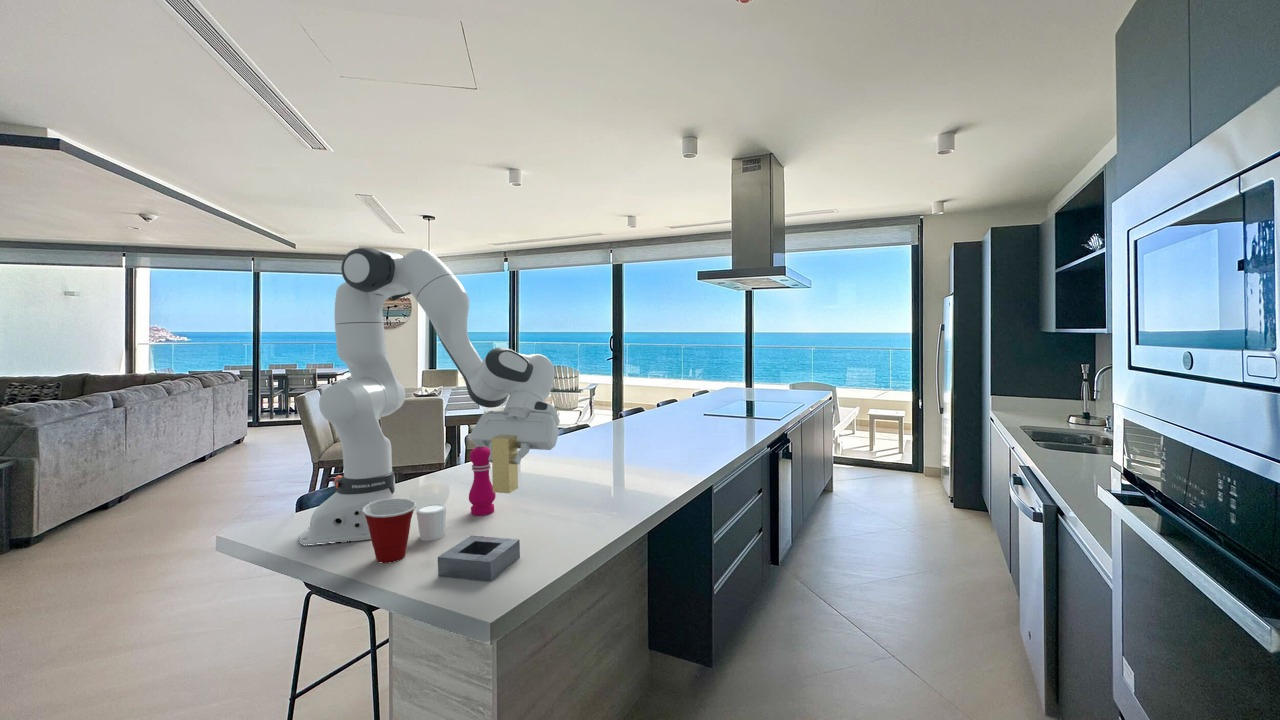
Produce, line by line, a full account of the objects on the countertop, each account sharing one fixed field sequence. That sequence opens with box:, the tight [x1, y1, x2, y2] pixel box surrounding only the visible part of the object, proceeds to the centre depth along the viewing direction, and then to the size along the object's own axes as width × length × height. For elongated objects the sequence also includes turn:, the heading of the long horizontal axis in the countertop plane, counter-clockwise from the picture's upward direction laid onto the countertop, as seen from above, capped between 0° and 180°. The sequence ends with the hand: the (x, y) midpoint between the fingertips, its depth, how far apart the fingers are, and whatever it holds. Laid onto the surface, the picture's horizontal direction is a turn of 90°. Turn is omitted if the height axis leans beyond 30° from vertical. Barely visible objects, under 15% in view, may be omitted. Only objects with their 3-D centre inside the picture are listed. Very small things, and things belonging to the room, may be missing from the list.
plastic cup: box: [362, 497, 417, 564], centre depth 115 cm, size 11×11×12 cm
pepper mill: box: [468, 446, 497, 517], centre depth 146 cm, size 7×7×20 cm
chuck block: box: [437, 535, 521, 583], centre depth 110 cm, size 12×12×4 cm
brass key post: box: [491, 435, 519, 494], centre depth 116 cm, size 4×4×12 cm
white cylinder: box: [415, 503, 447, 542], centre depth 128 cm, size 7×7×7 cm
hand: (503, 462), depth 115 cm, fingers closed on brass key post, 4 cm apart
